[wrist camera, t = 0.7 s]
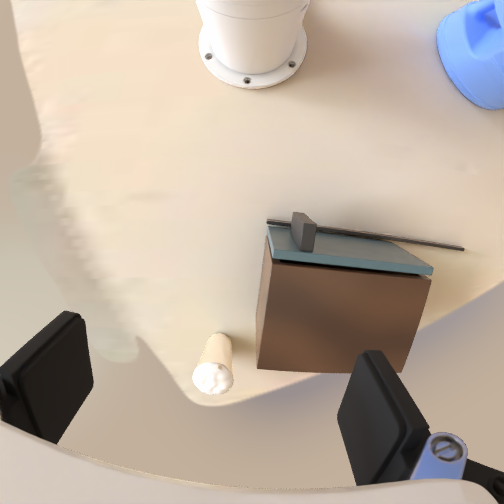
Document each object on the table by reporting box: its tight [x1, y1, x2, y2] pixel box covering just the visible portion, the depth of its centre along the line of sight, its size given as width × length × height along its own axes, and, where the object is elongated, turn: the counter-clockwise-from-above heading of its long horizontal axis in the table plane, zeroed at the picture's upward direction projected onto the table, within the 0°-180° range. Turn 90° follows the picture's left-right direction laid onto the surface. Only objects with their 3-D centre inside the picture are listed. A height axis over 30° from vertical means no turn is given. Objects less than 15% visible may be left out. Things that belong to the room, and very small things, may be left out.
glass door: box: [267, 212, 433, 275], centre depth 31 cm, size 3×16×11 cm, turn 83°
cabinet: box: [256, 219, 464, 373], centre depth 33 cm, size 12×28×12 cm, turn 84°
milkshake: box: [193, 333, 234, 395], centre depth 36 cm, size 5×5×10 cm
